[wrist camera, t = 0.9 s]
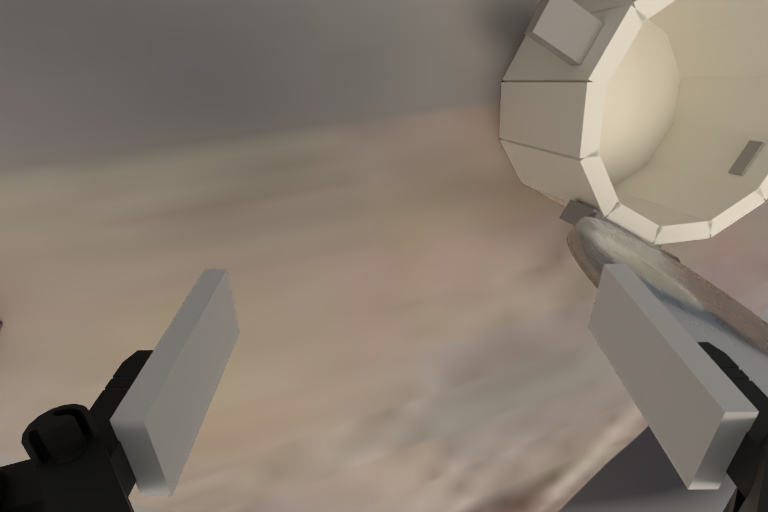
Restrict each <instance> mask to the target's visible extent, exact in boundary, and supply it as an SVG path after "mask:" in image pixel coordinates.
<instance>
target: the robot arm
mask: <svg viewBox="0 0 768 512" xmlns="http://www.w3.org/2000/svg"><path fill="white" fill-rule="evenodd" d="M588 328H589V329H590V331H591V332H592V334H593V336H594V337H595V339H596V341H597V342H598V344H599V345H600V347H601V349H602V350H603V352H604V354H605V355H606V357H607V358H608V360H609V362H610V363H611V365H612V366H613V368H614V370H615V371H616V373H617V375H618V376H619V378H620V379H621V381H622V383H623V384H624V386H625V388H626V389H627V391H628V392H629V394H630V396H631V397H632V399H633V401H634V402H635V404H636V405H637V407H638V409H639V410H640V412H641V414H642V415H643V417H644V418H645V420H646V422H647V423H648V425H649V426H650V428H651V430H652V431H653V433H654V435H655V436H656V438H657V439H658V441H659V443H660V444H661V446H662V448H663V449H664V451H665V453H666V454H667V456H668V457H669V459H670V461H671V462H672V464H673V465H674V467H675V468H676V470H677V472H678V473H679V475H680V477H681V478H682V480H683V482H684V483H685V485H686V486H687V488H688V489H719V487H720V485H721V483H722V481H723V479H724V477H725V476H726V474H728V475H729V477H730V478H731V479H732V481H733V482H734V484H735V485H736V486H737V488H736V489H735V491H734V493H733V495H732V497H731V498H730V500H729V502H728V504H727V506H726V508H725V509H724V511H723V512H768V397H767V396H766V395H765V394H764V393H763V392H762V391H761V390H760V389H759V388H758V386H757V385H756V384H755V383H754V382H753V381H750V380H749V377H748V376H747V375H746V374H745V373H744V372H743V371H742V370H739V367H738V365H737V364H736V363H735V362H734V361H733V360H732V359H731V358H730V357H729V356H728V355H727V354H726V353H725V352H723V351H721V350H720V349H718V348H717V347H715V346H714V345H712V344H710V343H709V342H696V341H695V340H694V339H693V338H692V336H691V335H690V334H689V333H688V332H687V331H686V330H685V329H684V328H683V326H682V325H681V324H680V323H679V322H678V321H677V320H676V319H675V318H674V316H673V315H672V314H671V313H670V312H669V311H668V310H667V309H666V307H665V306H664V305H663V304H662V303H661V302H660V301H659V300H658V299H657V297H656V296H655V295H654V294H653V293H652V292H651V291H650V290H649V289H648V287H647V286H646V285H645V284H644V283H643V282H642V281H641V280H640V279H639V277H638V276H637V275H636V274H635V273H634V272H633V271H632V270H631V269H630V267H629V266H628V265H627V264H604V266H603V270H602V274H601V278H600V282H599V286H598V290H597V294H596V298H595V302H594V306H593V310H592V314H591V318H590V322H589V326H588ZM239 332H240V331H239V326H238V321H237V316H236V311H235V306H234V301H233V296H232V291H231V286H230V282H229V277H228V272H227V269H205V270H204V272H203V273H202V275H201V276H200V278H199V279H198V281H197V283H196V284H195V286H194V287H193V289H192V291H191V292H190V294H189V295H188V297H187V298H186V300H185V302H184V303H183V305H182V306H181V308H180V310H179V311H178V313H177V314H176V316H175V317H174V319H173V321H172V322H171V324H170V325H169V327H168V329H167V330H166V332H165V333H164V335H163V336H162V338H161V340H160V341H159V343H158V344H157V346H156V348H155V349H154V350H139V351H137V352H135V353H134V354H133V355H131V356H130V357H129V358H128V359H126V360H125V361H124V362H123V363H122V364H121V365H120V367H119V368H118V370H117V371H116V373H115V374H114V375H113V379H111V380H110V381H109V383H108V384H107V386H106V387H105V390H103V391H102V393H101V394H100V396H99V397H98V399H97V400H96V401H95V403H94V404H93V406H92V407H91V409H90V410H88V409H87V408H86V407H85V406H82V405H78V404H69V405H63V406H59V407H56V408H53V409H51V410H49V411H47V412H45V413H44V414H42V415H40V416H38V417H37V418H36V419H35V420H34V421H33V422H32V423H30V424H29V425H28V427H27V428H26V430H25V431H24V433H23V435H22V442H21V443H22V445H23V446H24V448H25V450H26V452H27V453H28V455H29V457H30V459H29V460H25V461H22V462H18V463H14V464H10V465H6V466H3V467H0V512H134V510H133V508H132V506H131V503H130V501H129V499H128V496H129V494H130V492H131V490H132V488H133V486H134V484H135V482H136V484H137V487H138V489H139V491H140V494H141V496H172V494H173V492H174V489H175V487H176V485H177V482H178V480H179V477H180V475H181V472H182V470H183V468H184V465H185V463H186V460H187V458H188V456H189V453H190V451H191V448H192V446H193V444H194V441H195V439H196V436H197V434H198V431H199V429H200V427H201V424H202V422H203V419H204V417H205V415H206V412H207V410H208V407H209V405H210V402H211V400H212V398H213V395H214V393H215V390H216V388H217V386H218V383H219V381H220V378H221V376H222V373H223V371H224V369H225V366H226V364H227V361H228V359H229V357H230V354H231V352H232V349H233V347H234V344H235V342H236V340H237V337H238V335H239Z"/></svg>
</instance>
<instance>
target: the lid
mask: <svg viewBox="0 0 768 512" xmlns="http://www.w3.org/2000/svg"><path fill="white" fill-rule="evenodd" d="M567 243H568V247H569V249H570V251H571V253H572V255H573V257H574V258H575V260H576V261H577V263H578V264H579V266H580V267H581V269H582V270H583V271H584V273H585V274H586V275H587V276H588V278H589V279H590V280H591V281H592V283H593V284H594V285H595V286H596V287H597V288H598V286H599V282H600V278H601V274H602V270H603V266H604V264H627V265H628V266H629V267H630V269H631V270H632V271H633V272H634V273H635V274H636V275H637V276H638V277H639V279H640V280H641V281H642V282H643V283H644V284H645V285H646V286H647V287H648V289H649V290H650V291H651V292H652V293H653V294H654V295H655V296H656V297H657V299H658V300H659V301H660V302H661V303H662V304H663V305H664V306H665V307H666V309H667V310H668V311H669V312H670V313H671V314H672V315H673V316H674V318H675V319H676V320H677V321H678V322H679V323H680V324H681V325H682V326H683V328H684V329H685V330H686V331H687V332H688V333H689V334H690V335H691V336H692V338H693V339H694V340H695V341H696V342H709V343H710V344H712V345H714V346H715V347H717V348H718V349H720V350H721V351H723V352H725V353H726V354H727V355H728V356H729V357H730V358H731V359H732V360H733V361H734V362H735V363H736V364H737V365H738V367H739V370H742V371H743V372H744V373H745V374H746V375H747V376H748V377H749V380H750V381H753V382H754V383H755V384H756V385H757V386H758V388H759V389H760V390H761V391H762V392H763V393H764V394H765V395H766V396H767V397H768V323H767V322H765V321H764V320H762V319H761V318H760V317H758V316H757V315H756V314H754V313H753V312H751V311H750V310H749V309H747V308H746V307H744V306H743V305H742V304H740V303H739V302H737V301H736V300H735V299H733V298H732V297H730V296H729V295H727V294H726V293H725V292H723V291H722V290H720V289H719V288H717V287H716V286H714V285H713V284H712V283H710V282H709V281H707V280H706V279H704V278H703V277H701V276H700V275H698V274H697V273H695V272H694V271H692V270H690V269H689V268H687V267H686V266H684V265H683V264H681V263H680V260H679V258H677V257H676V256H674V255H672V254H670V253H669V252H667V251H665V250H663V249H661V248H660V247H658V246H656V245H654V244H652V243H651V242H649V241H647V240H645V239H643V238H642V237H640V236H638V235H636V234H634V233H633V232H631V231H629V230H627V229H625V228H624V227H622V226H620V225H618V224H616V223H615V222H613V221H611V220H609V219H607V218H606V217H604V216H602V215H600V214H598V213H596V212H594V213H591V214H589V215H588V216H587V217H583V218H581V219H580V220H579V222H578V223H577V224H576V225H575V226H574V228H573V229H572V230H571V231H570V232H569V234H568V236H567Z"/></svg>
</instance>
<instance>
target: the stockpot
mask: <svg viewBox="0 0 768 512" xmlns="http://www.w3.org/2000/svg"><path fill="white" fill-rule="evenodd" d="M524 34H525V35H526V36H525V38H524V40H523V42H522V43H521V45H520V47H519V49H518V51H517V53H516V55H515V56H514V58H513V60H512V62H511V64H510V66H509V68H508V69H507V71H506V73H505V75H504V77H503V79H502V80H503V81H505V82H501V100H500V124H499V138H501V139H500V142H501V144H502V146H503V148H504V150H505V152H506V154H507V156H508V158H509V160H510V162H511V164H512V166H513V168H514V170H515V172H516V174H517V176H518V178H519V180H520V182H522V184H524V185H526V186H528V187H529V188H531V189H533V190H535V191H537V192H539V193H540V194H542V195H544V196H546V197H548V198H550V199H551V200H553V201H555V202H557V203H559V204H561V205H563V206H566V208H565V209H564V211H563V213H562V214H561V216H560V219H562V220H564V221H566V222H568V223H570V224H572V225H574V226H575V225H576V224H577V223H578V222H579V220H580V219H581V218H583V217H587V216H588V215H589V214H591V213H594V212H596V213H598V214H600V215H602V216H604V217H606V218H607V219H609V220H611V221H613V222H615V223H616V224H618V225H620V226H622V227H624V228H625V229H627V230H629V231H631V232H633V233H634V234H636V235H638V236H640V237H642V238H643V239H645V240H647V241H649V242H651V243H652V244H654V245H656V246H658V247H660V248H661V246H660V245H658V244H664V243H673V242H681V241H689V240H698V239H706V238H709V237H713V236H714V235H716V234H717V233H719V232H720V231H722V230H723V229H725V228H726V227H728V226H729V225H731V224H732V223H734V222H735V221H737V220H738V219H740V218H741V217H743V216H744V215H746V214H747V213H749V212H750V211H752V210H753V209H755V208H756V207H758V206H759V205H761V204H762V203H764V199H765V200H767V199H768V0H541V2H540V4H539V6H538V8H537V10H536V12H535V13H534V15H533V17H532V19H531V21H530V23H529V25H528V27H527V28H526V30H525V32H524Z"/></svg>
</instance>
